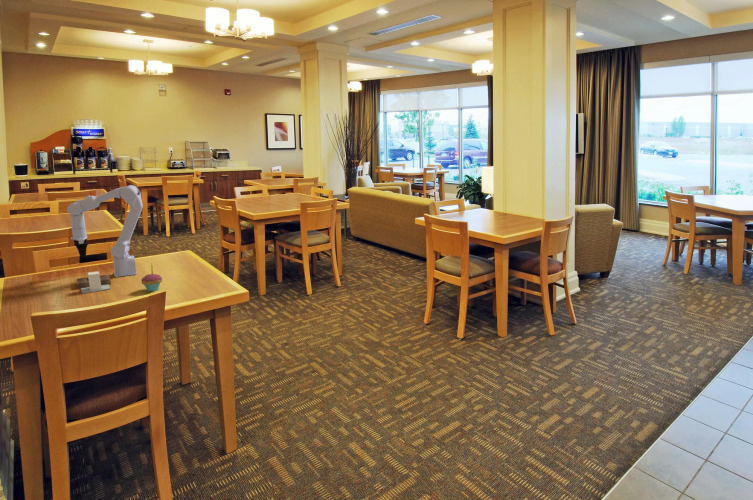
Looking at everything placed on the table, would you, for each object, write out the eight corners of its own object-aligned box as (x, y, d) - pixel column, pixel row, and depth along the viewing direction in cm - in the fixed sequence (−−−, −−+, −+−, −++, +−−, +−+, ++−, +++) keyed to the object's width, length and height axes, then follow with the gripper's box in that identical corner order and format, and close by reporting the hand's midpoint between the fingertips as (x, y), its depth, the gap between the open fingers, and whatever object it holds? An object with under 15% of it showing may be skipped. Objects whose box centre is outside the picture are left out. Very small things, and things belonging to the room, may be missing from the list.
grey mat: (108, 285, 234) (108, 284, 234) (110, 289, 228) (110, 288, 228) (81, 289, 228) (81, 288, 228) (82, 293, 222) (82, 292, 222)
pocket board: (108, 279, 243) (108, 274, 242) (110, 284, 236) (110, 279, 235) (77, 284, 236) (76, 278, 236) (78, 289, 229) (77, 283, 228)
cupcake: (146, 287, 232) (143, 261, 229) (165, 286, 232) (163, 261, 229) (139, 293, 223) (136, 266, 220) (159, 292, 224) (157, 266, 221)
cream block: (100, 286, 231) (98, 271, 229) (101, 288, 227) (99, 273, 226) (89, 287, 229) (87, 272, 227) (90, 290, 225) (88, 275, 223)
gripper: (68, 226, 246) (72, 253, 250) (69, 231, 235) (73, 259, 238) (85, 224, 250) (88, 251, 253) (87, 229, 238) (91, 257, 241)
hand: (82, 255), depth 246 cm, fingers open, 7 cm apart
